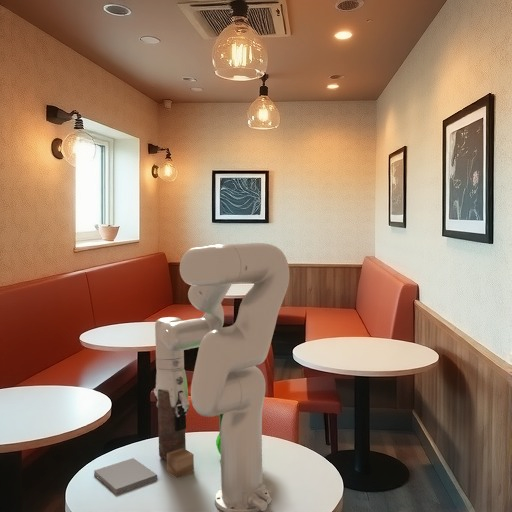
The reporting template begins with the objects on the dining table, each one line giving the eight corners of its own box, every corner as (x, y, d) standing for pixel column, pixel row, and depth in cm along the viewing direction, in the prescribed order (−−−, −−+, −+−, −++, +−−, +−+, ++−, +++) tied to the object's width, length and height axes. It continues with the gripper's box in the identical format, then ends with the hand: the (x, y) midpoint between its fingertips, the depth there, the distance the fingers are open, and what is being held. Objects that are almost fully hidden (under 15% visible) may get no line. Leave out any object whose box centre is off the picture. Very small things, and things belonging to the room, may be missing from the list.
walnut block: (193, 472, 135) (193, 453, 135) (177, 479, 132) (176, 459, 132) (183, 466, 139) (183, 447, 139) (167, 472, 136) (166, 453, 136)
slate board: (157, 479, 132) (157, 474, 132) (116, 494, 125) (116, 489, 125) (133, 462, 142) (133, 457, 142) (94, 475, 135) (94, 470, 135)
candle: (180, 464, 140) (178, 390, 139) (154, 462, 142) (152, 389, 141) (189, 452, 148) (188, 382, 147) (165, 450, 149) (163, 381, 148)
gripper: (199, 366, 139) (200, 430, 140) (165, 355, 152) (167, 413, 153) (174, 371, 134) (176, 438, 135) (142, 359, 147) (144, 420, 148)
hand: (171, 425), depth 144 cm, fingers open, 8 cm apart
